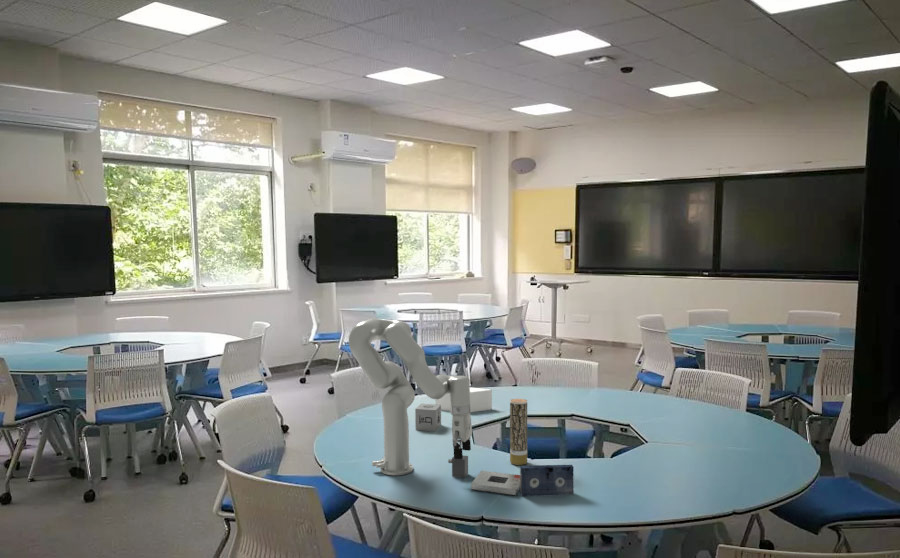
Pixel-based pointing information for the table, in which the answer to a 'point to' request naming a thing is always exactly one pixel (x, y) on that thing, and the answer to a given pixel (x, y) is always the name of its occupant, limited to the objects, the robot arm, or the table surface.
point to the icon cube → (428, 417)
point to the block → (471, 400)
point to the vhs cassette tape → (546, 480)
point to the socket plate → (496, 483)
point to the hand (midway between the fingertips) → (462, 454)
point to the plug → (459, 467)
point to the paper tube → (518, 431)
